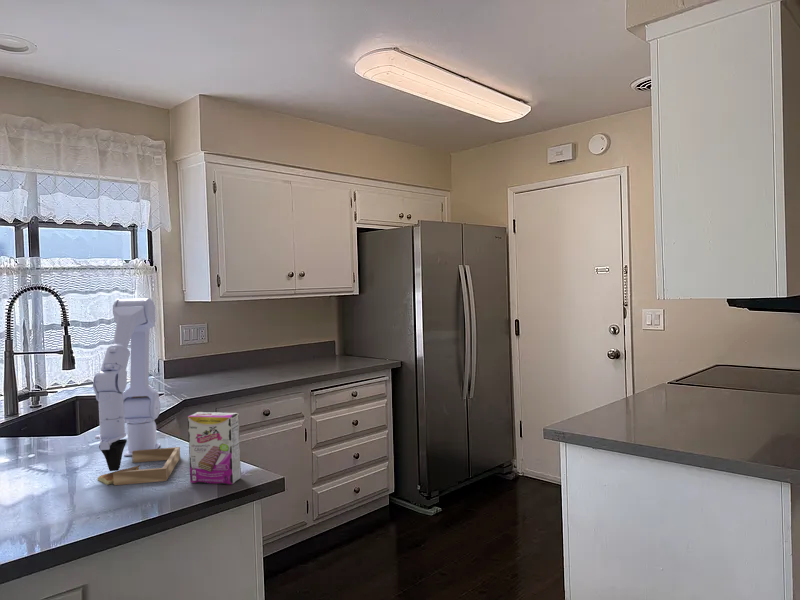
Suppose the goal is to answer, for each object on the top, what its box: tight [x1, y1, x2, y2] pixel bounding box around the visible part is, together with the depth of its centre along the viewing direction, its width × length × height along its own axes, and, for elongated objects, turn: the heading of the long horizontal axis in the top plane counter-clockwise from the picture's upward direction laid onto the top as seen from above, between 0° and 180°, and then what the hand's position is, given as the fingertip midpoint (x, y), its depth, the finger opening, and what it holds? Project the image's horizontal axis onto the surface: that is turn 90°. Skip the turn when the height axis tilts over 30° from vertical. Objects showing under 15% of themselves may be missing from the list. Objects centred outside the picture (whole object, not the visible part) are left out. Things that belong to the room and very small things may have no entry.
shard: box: [97, 464, 141, 486], centre depth 148 cm, size 11×8×2 cm
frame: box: [113, 446, 181, 486], centre depth 153 cm, size 19×12×3 cm, turn 11°
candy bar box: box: [187, 411, 242, 485], centre depth 143 cm, size 11×5×16 cm, turn 80°
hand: (114, 470), depth 151 cm, fingers closed
